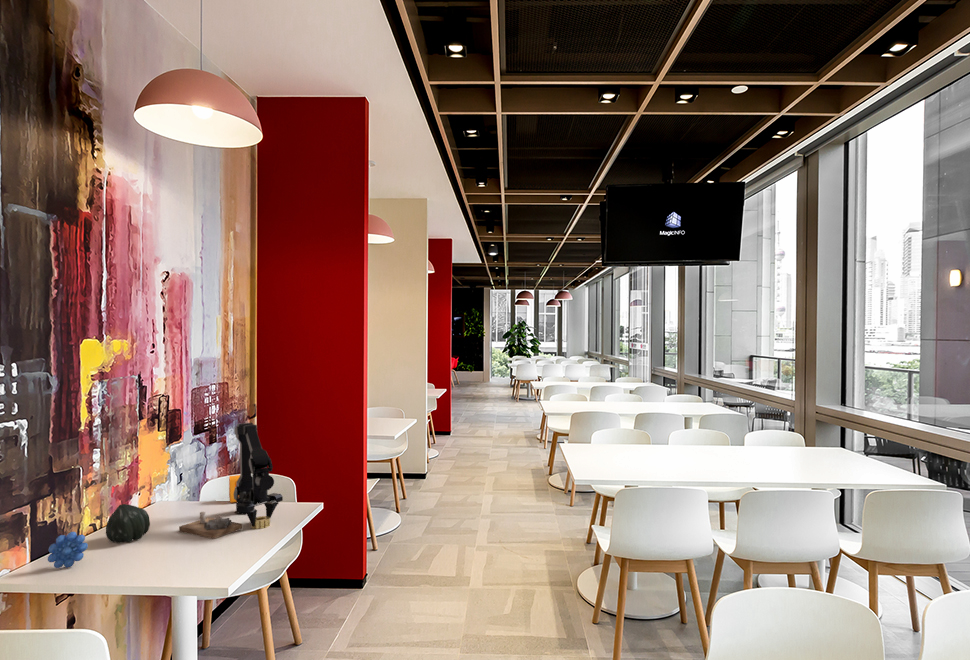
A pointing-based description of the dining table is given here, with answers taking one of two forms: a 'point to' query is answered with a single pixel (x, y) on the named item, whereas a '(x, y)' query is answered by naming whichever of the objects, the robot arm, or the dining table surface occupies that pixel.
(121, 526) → the squash
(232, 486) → the bracket
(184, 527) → the gear board
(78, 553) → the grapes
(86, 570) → the dining table surface
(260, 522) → the brass gear
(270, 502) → the robot arm
